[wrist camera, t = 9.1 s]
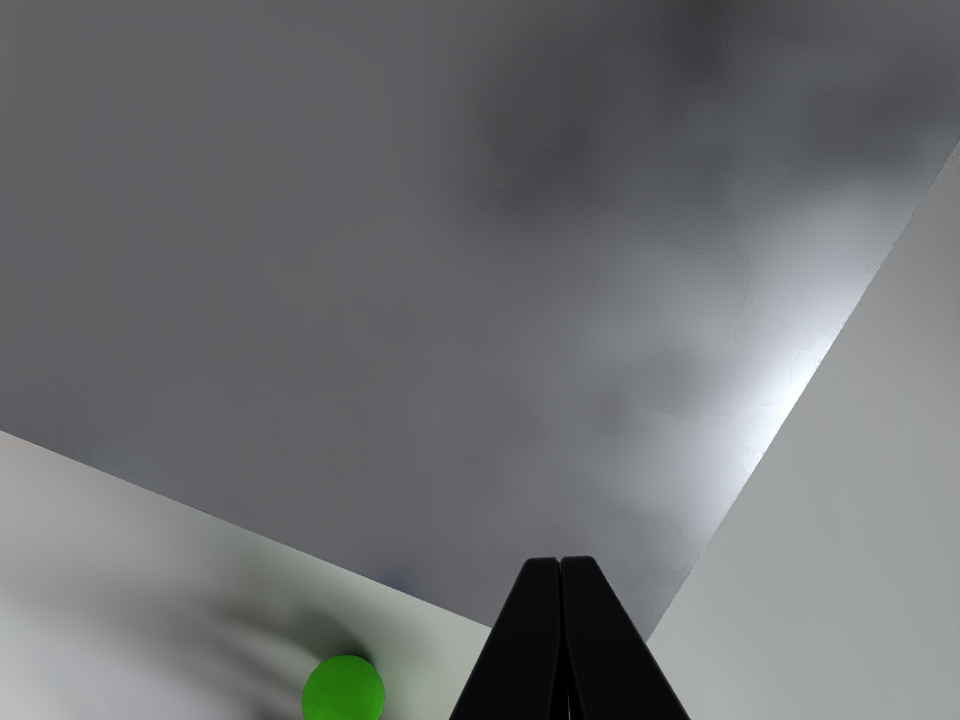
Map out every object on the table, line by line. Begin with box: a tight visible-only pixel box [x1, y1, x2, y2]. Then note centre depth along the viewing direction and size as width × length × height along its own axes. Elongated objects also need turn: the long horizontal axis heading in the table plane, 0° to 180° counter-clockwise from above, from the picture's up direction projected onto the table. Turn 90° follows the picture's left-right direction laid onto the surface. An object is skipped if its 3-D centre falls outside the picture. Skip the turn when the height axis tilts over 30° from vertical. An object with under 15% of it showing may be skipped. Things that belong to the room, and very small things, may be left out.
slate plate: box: [0, 0, 960, 644], centre depth 18 cm, size 20×20×4 cm
